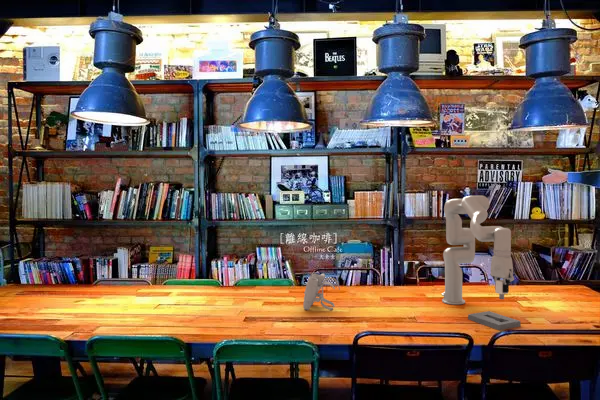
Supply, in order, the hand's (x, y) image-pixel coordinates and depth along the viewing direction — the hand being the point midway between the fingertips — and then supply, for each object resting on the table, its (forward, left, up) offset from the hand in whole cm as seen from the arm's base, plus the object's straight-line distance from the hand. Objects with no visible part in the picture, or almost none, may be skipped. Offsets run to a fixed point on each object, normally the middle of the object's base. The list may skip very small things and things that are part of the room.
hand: (501, 291), depth 242 cm
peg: (0, 0, -4) cm, 4 cm away
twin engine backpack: (-68, -63, -17) cm, 94 cm away
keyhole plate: (-5, 0, -17) cm, 18 cm away
